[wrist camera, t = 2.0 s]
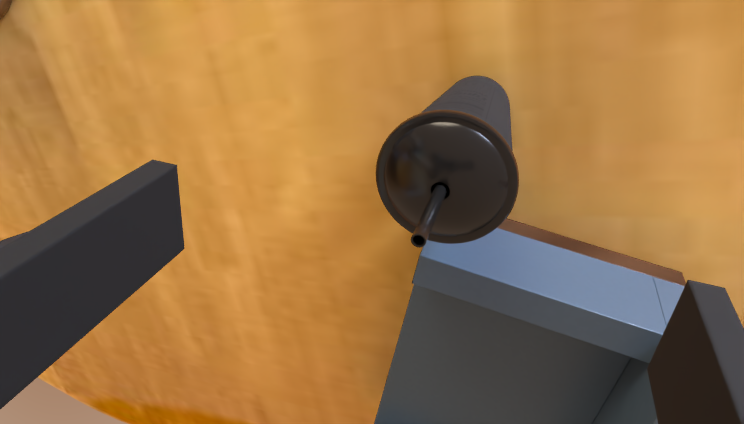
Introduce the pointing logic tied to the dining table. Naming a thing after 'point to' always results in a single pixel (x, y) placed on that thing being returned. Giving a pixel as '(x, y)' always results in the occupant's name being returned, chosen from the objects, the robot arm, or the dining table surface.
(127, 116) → the dining table surface
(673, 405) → the robot arm
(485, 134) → the drinking cup
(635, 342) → the sofa
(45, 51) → the dining table surface
